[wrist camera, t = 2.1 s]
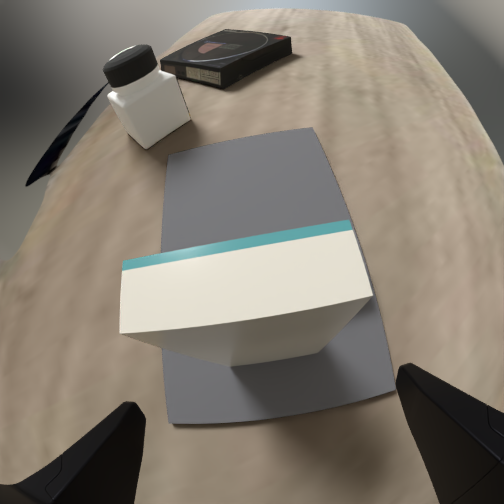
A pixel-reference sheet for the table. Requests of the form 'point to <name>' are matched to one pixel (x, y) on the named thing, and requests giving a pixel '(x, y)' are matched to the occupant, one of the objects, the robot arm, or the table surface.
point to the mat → (251, 224)
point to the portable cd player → (226, 56)
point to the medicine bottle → (145, 95)
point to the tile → (247, 295)
